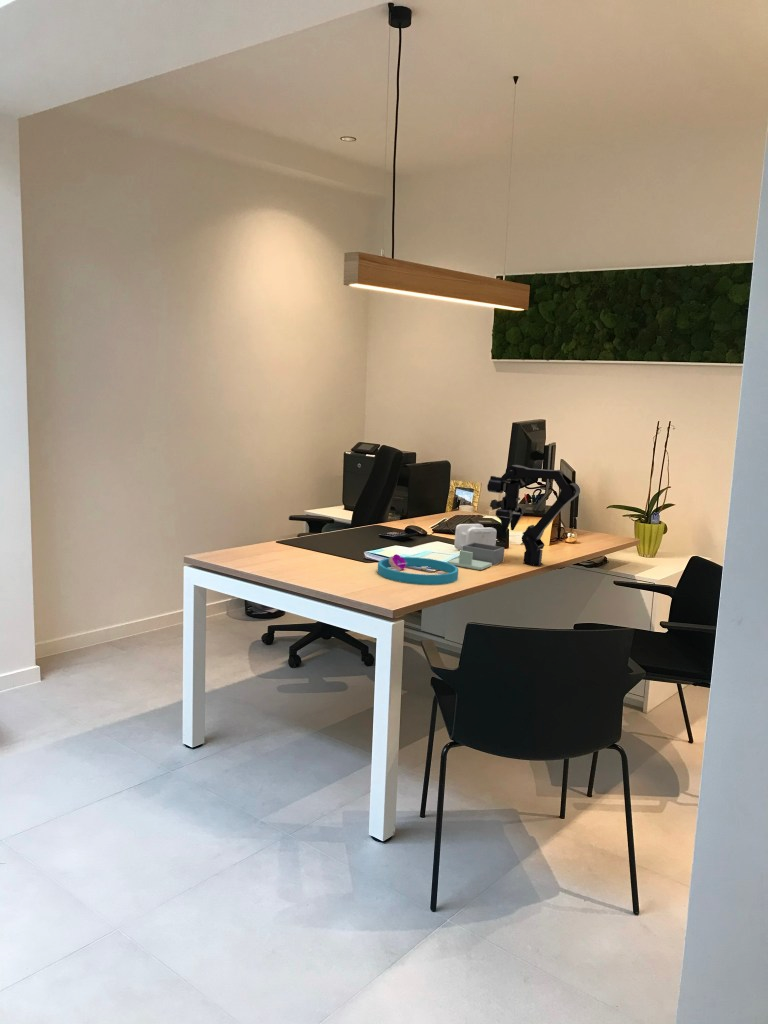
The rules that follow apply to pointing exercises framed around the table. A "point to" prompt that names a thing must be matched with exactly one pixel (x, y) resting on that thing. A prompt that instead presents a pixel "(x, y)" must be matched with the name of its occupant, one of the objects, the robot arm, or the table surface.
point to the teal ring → (401, 562)
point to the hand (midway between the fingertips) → (508, 531)
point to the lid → (469, 561)
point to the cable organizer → (474, 535)
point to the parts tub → (485, 552)
